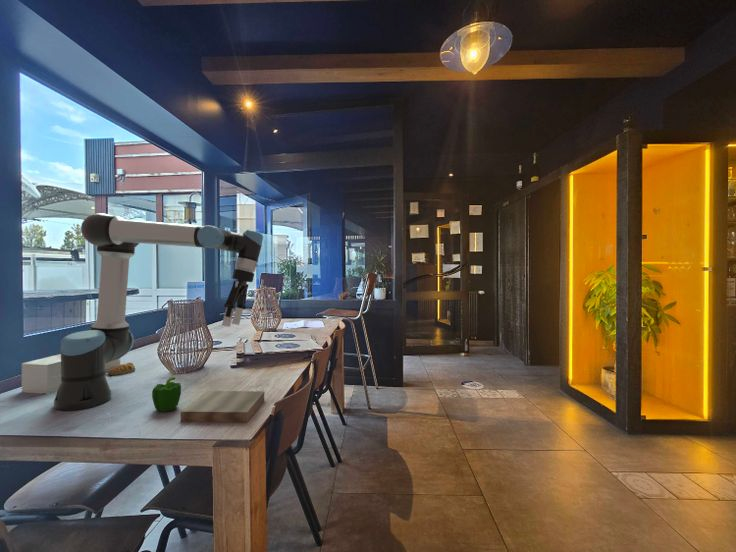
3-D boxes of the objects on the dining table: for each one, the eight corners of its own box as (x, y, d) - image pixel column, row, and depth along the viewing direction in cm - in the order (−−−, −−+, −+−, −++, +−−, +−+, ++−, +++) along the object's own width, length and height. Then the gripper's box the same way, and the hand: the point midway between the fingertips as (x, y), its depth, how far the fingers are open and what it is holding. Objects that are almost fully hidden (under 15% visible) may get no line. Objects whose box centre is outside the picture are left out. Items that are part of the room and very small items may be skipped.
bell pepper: (155, 416, 110) (155, 384, 110) (149, 408, 116) (149, 378, 116) (184, 409, 115) (185, 379, 115) (177, 402, 122) (177, 373, 121)
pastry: (114, 377, 148) (114, 368, 148) (104, 375, 151) (104, 366, 151) (137, 371, 157) (136, 362, 157) (126, 369, 159) (126, 361, 159)
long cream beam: (99, 368, 161) (99, 344, 161) (120, 369, 160) (120, 345, 159) (21, 392, 129) (21, 363, 129) (47, 394, 128) (47, 364, 128)
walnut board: (180, 421, 107) (180, 411, 107) (207, 399, 125) (207, 390, 125) (247, 422, 107) (247, 412, 107) (264, 400, 125) (264, 391, 125)
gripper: (247, 269, 124) (232, 329, 122) (260, 275, 149) (248, 325, 147) (225, 264, 124) (210, 324, 121) (242, 271, 148) (229, 321, 146)
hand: (230, 325), depth 134 cm, fingers open, 13 cm apart
